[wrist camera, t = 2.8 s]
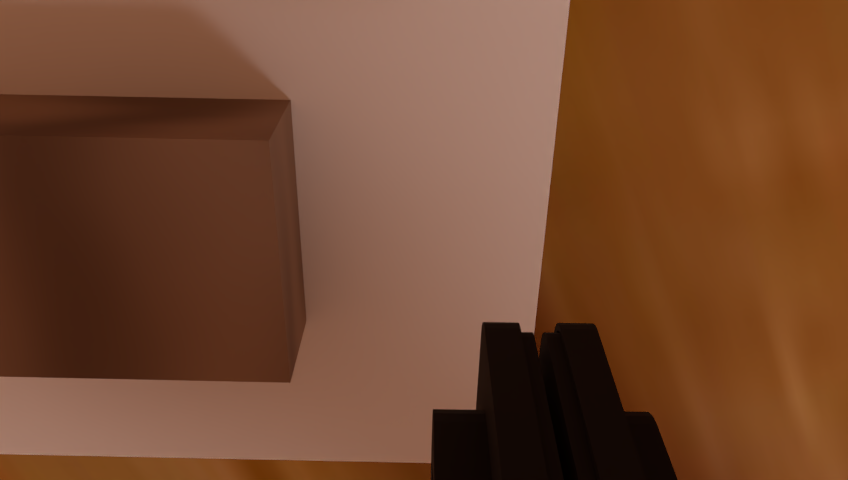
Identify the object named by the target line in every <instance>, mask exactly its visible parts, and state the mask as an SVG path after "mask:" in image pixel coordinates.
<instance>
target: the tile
mask: <svg viewBox="0 0 848 480" xmlns="http://www.w3.org/2000/svg"><path fill="white" fill-rule="evenodd" d="M305 325H306V308H305V294H304V280H303V266H302V252H301V238H300V224H299V210H298V196H297V182H296V168H295V154H294V140H293V126H292V113H291V100H267V99H217V98H167V97H117V96H66V95H16V94H0V377H41V378H89V379H137V380H185V381H233V382H281V383H290V382H291V378H292V374H293V371H294V367H295V363H296V359H297V355H298V351H299V348H300V344H301V340H302V336H303V332H304V328H305Z"/></svg>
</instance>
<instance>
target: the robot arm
mask: <svg viewBox="0 0 848 480" xmlns="http://www.w3.org/2000/svg"><path fill="white" fill-rule="evenodd" d="M431 480H677V477H676V475H675V472H674V469H673V467H672V464H671V461H670V459H669V456H668V453H667V451H666V448H665V445H664V443H663V440H662V437H661V434H660V432H659V429H658V426H657V424H656V422H655V420H654V418H653V416H652V415H651V414H650V413H649V412H624V410H623V407H622V404H621V401H620V398H619V395H618V392H617V389H616V385H615V382H614V379H613V376H612V373H611V370H610V367H609V364H608V361H607V358H606V355H605V352H604V349H603V346H602V343H601V340H600V337H599V334H598V330H597V328H596V326H595V325H594V324H587V323H557V324H556V327H555V331H554V333H546V332H544V333H543V335H542V339H541V346H540V355H539V357H538V352H537V347H536V342H535V337H534V334H533V332H521V328H520V324H519V323H515V322H483V323H482V329H481V342H480V356H479V371H478V385H477V400H476V410H457V409H433V414H432V445H431Z"/></svg>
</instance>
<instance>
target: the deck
mask: <svg viewBox="0 0 848 480" xmlns="http://www.w3.org/2000/svg"><path fill="white" fill-rule="evenodd" d="M569 5H570V0H0V94H16V95H66V96H117V97H167V98H217V99H267V100H291V113H292V126H293V140H294V154H295V168H296V182H297V196H298V210H299V224H300V238H301V252H302V266H303V280H304V294H305V308H306V325H305V328H304V332H303V336H302V340H301V344H300V348H299V351H298V355H297V359H296V363H295V367H294V371H293V374H292V378H291V382H290V383H281V382H233V381H185V380H137V379H89V378H41V377H0V454H23V455H70V456H118V457H165V458H213V459H260V460H308V461H355V462H402V463H431V445H432V414H433V409H457V410H476V400H477V385H478V371H479V356H480V342H481V329H482V323H483V322H515V323H519V324H520V328H521V332H533V334H534V330H535V321H536V312H537V302H538V293H539V284H540V275H541V265H542V256H543V247H544V237H545V228H546V219H547V210H548V200H549V191H550V182H551V172H552V163H553V154H554V145H555V135H556V126H557V117H558V107H559V98H560V89H561V80H562V70H563V61H564V52H565V42H566V33H567V24H568V14H569Z"/></svg>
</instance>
